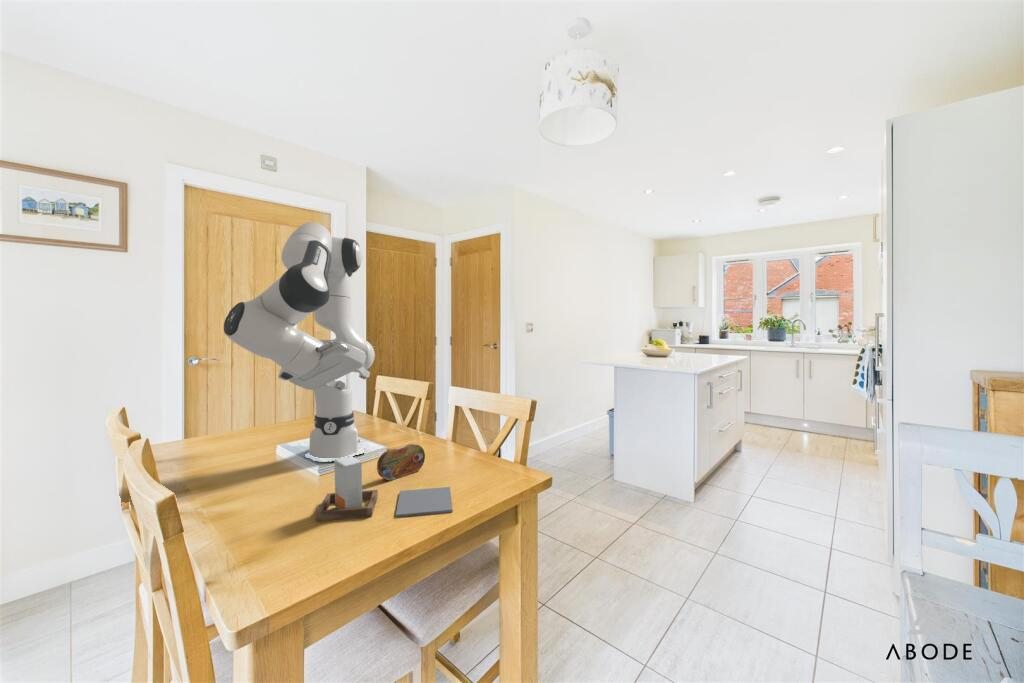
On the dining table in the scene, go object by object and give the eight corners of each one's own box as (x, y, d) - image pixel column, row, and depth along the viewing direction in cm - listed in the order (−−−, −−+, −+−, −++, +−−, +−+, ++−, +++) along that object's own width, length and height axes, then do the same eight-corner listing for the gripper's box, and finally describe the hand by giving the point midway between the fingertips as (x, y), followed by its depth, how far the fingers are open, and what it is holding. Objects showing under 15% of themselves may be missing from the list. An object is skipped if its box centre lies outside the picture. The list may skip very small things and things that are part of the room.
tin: (381, 484, 109) (381, 454, 108) (375, 481, 111) (375, 452, 110) (425, 469, 120) (425, 442, 120) (419, 466, 122) (419, 440, 122)
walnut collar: (327, 501, 98) (327, 493, 98) (377, 497, 101) (377, 489, 100) (316, 521, 88) (315, 512, 88) (371, 516, 91) (371, 508, 91)
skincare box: (334, 507, 95) (333, 459, 94) (351, 501, 98) (351, 454, 97) (345, 516, 91) (344, 465, 90) (363, 509, 94) (362, 461, 93)
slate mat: (400, 493, 103) (400, 490, 103) (449, 489, 106) (449, 486, 106) (395, 517, 90) (395, 514, 90) (452, 512, 93) (452, 509, 93)
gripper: (337, 327, 85) (386, 357, 94) (283, 357, 94) (333, 382, 103) (329, 351, 81) (381, 380, 90) (274, 380, 90) (326, 403, 100)
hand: (355, 381), depth 97 cm, fingers open, 8 cm apart
